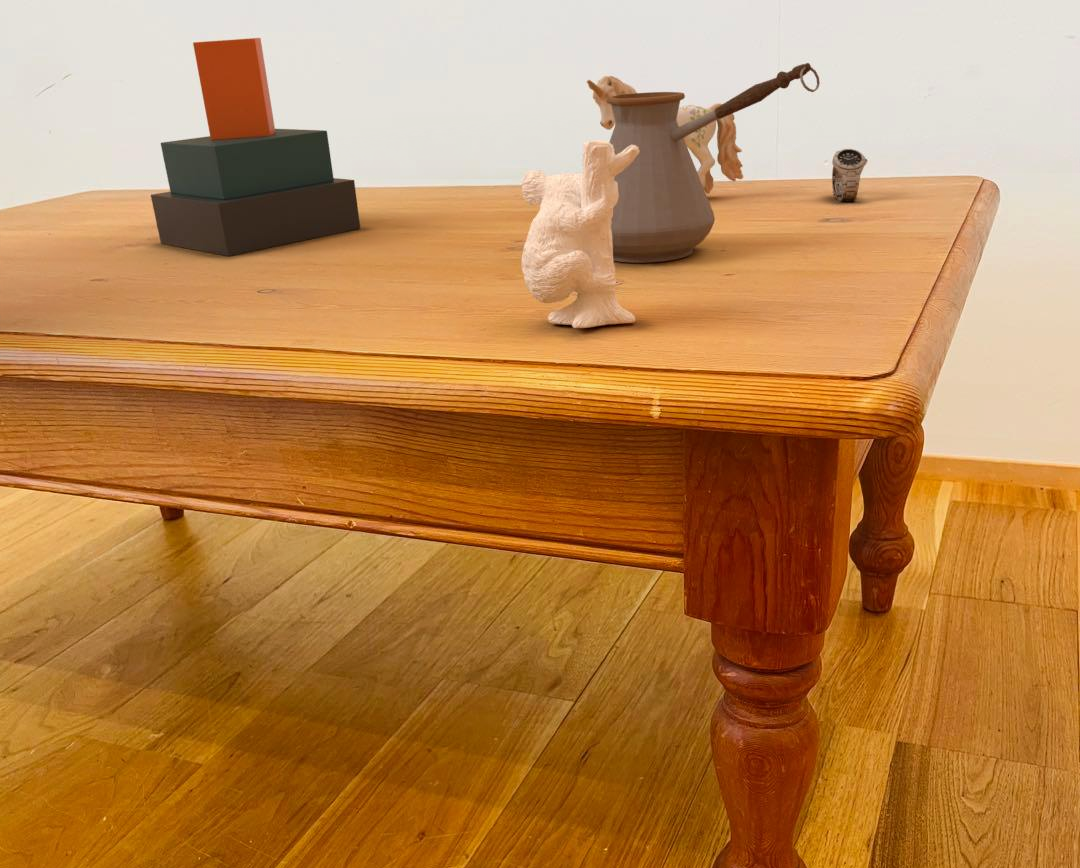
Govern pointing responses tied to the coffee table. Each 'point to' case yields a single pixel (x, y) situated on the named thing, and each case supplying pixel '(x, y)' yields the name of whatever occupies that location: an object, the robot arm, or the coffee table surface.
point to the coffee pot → (668, 172)
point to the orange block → (234, 88)
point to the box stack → (252, 193)
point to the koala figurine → (576, 238)
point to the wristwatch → (847, 174)
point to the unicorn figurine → (693, 141)
